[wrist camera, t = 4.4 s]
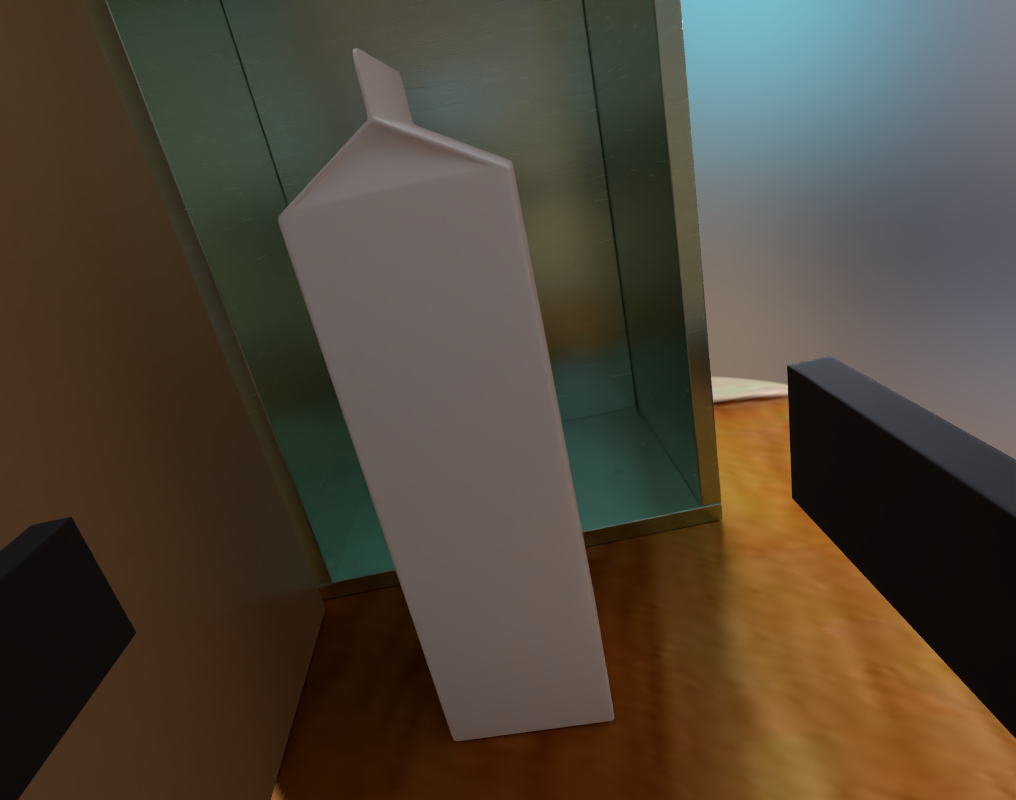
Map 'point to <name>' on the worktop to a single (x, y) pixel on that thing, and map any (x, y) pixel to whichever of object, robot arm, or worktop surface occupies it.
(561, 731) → the worktop surface
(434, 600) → the milk
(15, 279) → the fridge door
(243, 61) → the fridge
